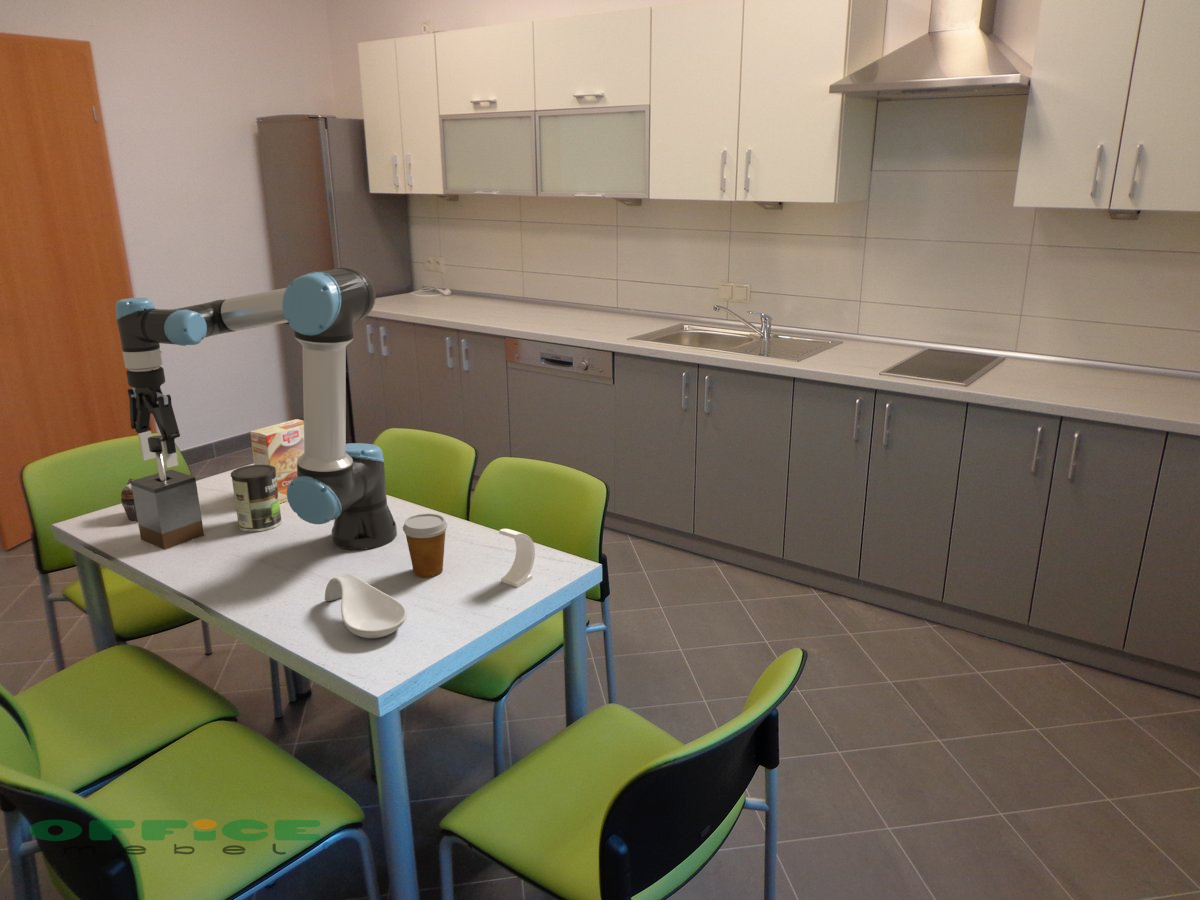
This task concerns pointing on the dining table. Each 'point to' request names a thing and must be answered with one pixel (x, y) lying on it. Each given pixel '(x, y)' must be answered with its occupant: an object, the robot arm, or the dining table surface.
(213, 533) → the dining table surface
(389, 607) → the spoon rest
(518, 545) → the headphone stand
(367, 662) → the dining table surface
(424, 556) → the disposable coffee cup
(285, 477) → the coffeecake box
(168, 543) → the grey brown upright block
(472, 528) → the dining table surface
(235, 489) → the coffee can
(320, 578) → the dining table surface
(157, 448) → the plunger
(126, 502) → the cupcake
